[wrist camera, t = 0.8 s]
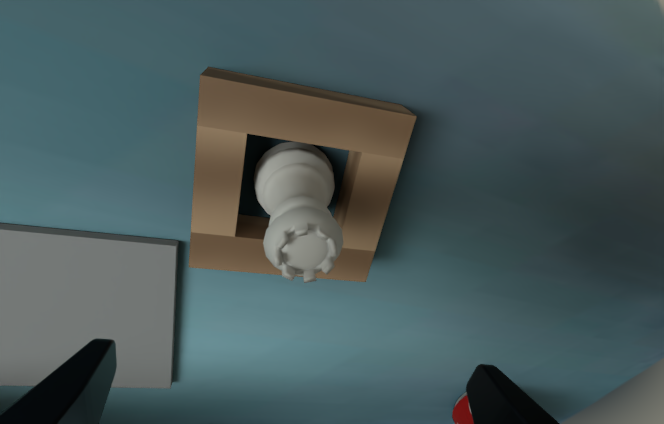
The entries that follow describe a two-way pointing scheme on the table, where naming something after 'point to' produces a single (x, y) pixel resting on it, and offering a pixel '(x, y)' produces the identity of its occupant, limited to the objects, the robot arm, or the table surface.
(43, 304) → the grey mat
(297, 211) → the rook chess piece
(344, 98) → the brown wooden frame
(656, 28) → the table surface
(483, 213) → the table surface
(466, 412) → the soda can
